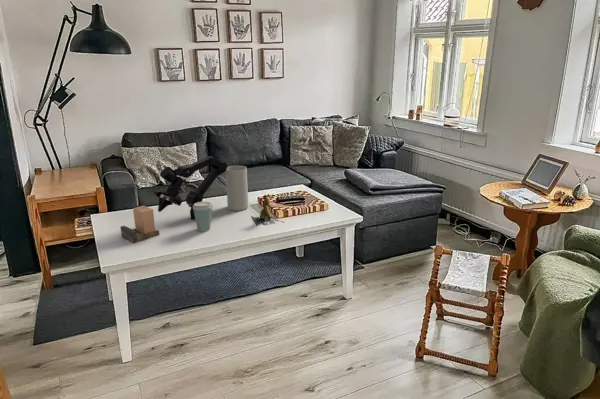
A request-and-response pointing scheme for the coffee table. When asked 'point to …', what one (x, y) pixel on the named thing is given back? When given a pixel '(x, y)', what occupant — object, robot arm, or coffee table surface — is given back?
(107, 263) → the coffee table surface
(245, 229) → the coffee table surface
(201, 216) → the disposable coffee cup
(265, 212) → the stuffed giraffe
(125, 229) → the roller track
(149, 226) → the terracotta slab
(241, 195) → the cylinder vase
